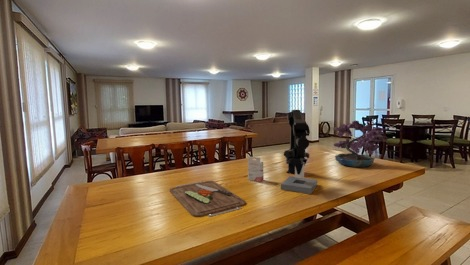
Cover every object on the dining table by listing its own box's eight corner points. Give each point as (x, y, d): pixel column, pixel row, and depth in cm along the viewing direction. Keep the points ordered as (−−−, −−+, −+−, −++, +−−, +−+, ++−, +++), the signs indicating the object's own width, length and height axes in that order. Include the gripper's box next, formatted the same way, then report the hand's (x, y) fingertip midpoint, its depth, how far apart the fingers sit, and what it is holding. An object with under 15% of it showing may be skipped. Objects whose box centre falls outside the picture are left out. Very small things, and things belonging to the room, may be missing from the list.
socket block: (289, 181, 151) (289, 176, 150) (317, 184, 143) (317, 179, 143) (280, 189, 137) (280, 183, 137) (310, 194, 129) (311, 188, 129)
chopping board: (166, 189, 141) (166, 184, 141) (210, 181, 155) (210, 176, 154) (196, 221, 103) (196, 214, 102) (251, 207, 116) (251, 200, 116)
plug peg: (296, 175, 142) (297, 161, 141) (304, 176, 140) (304, 162, 139) (294, 177, 139) (295, 163, 138) (302, 178, 137) (302, 163, 136)
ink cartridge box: (263, 179, 154) (263, 156, 152) (260, 182, 150) (260, 157, 148) (251, 177, 158) (250, 154, 156) (247, 180, 154) (247, 156, 152)
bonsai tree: (325, 162, 194) (327, 120, 190) (349, 158, 206) (351, 118, 202) (367, 173, 163) (370, 123, 159) (393, 167, 175) (396, 121, 171)
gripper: (290, 141, 149) (290, 167, 151) (280, 147, 133) (279, 175, 135) (309, 143, 144) (309, 169, 146) (301, 148, 127) (300, 178, 129)
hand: (299, 173), depth 139 cm, fingers closed on plug peg, 4 cm apart
